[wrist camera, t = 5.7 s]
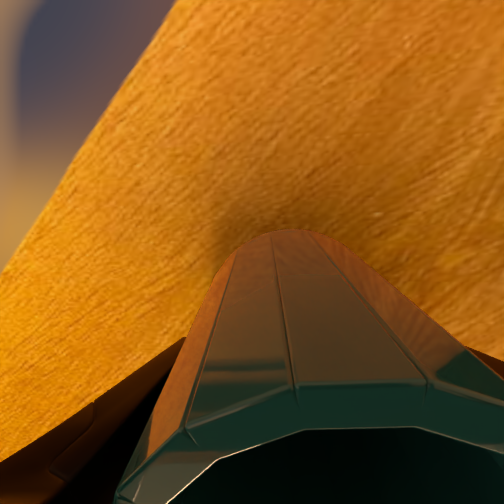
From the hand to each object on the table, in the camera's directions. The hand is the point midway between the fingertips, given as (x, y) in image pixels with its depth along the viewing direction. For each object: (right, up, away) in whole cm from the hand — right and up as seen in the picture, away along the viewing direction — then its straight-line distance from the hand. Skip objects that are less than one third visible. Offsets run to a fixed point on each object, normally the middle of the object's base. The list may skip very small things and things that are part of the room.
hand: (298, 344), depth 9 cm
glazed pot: (0, +1, +2) cm, 2 cm away
